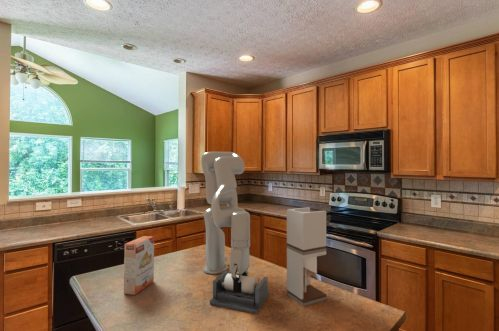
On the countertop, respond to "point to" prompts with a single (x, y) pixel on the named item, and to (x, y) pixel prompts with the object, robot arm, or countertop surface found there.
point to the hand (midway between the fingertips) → (240, 287)
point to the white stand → (304, 253)
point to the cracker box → (138, 264)
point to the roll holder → (239, 296)
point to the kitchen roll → (242, 283)
